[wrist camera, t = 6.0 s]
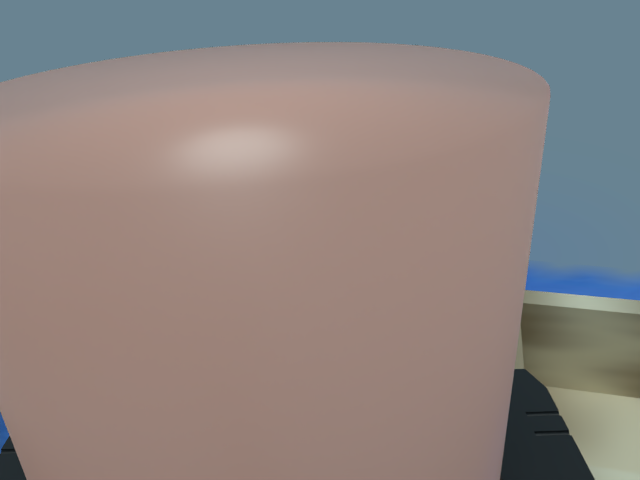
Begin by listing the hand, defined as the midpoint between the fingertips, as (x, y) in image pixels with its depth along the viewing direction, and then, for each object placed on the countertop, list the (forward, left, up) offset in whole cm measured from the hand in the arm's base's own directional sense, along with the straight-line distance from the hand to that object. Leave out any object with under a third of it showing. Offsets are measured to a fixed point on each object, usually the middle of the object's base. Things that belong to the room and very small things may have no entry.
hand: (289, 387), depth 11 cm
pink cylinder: (+1, -2, -8) cm, 8 cm away
